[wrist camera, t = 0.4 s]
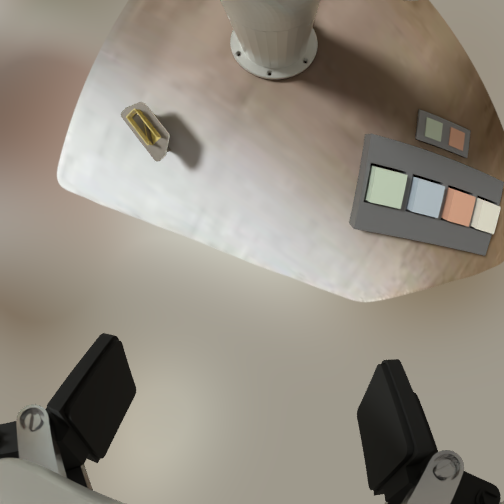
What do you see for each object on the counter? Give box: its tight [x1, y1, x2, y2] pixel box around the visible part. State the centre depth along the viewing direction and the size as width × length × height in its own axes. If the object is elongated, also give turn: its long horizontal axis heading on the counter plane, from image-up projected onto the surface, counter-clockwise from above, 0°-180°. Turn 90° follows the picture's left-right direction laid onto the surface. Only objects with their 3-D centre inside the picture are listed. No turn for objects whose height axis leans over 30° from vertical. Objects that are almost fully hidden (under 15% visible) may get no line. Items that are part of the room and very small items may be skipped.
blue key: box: [406, 177, 445, 218], centre depth 36 cm, size 5×5×3 cm
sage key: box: [364, 165, 408, 209], centre depth 36 cm, size 5×5×3 cm
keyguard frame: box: [349, 134, 504, 256], centre depth 38 cm, size 14×28×3 cm, turn 83°
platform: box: [121, 102, 170, 161], centre depth 37 cm, size 12×18×7 cm, turn 37°
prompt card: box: [415, 109, 471, 158], centre depth 34 cm, size 5×11×1 cm, turn 83°
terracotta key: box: [441, 187, 476, 227], centre depth 36 cm, size 5×5×3 cm
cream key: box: [470, 198, 501, 234], centre depth 36 cm, size 5×5×3 cm
